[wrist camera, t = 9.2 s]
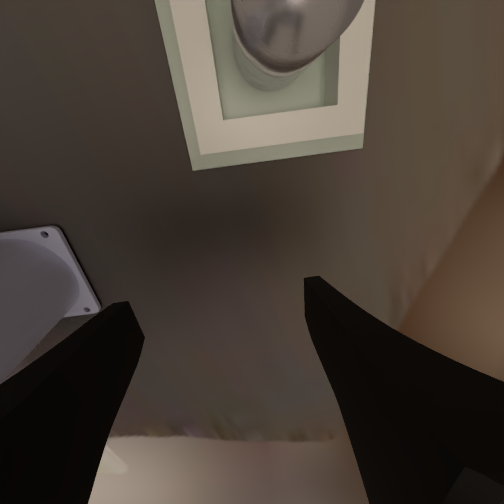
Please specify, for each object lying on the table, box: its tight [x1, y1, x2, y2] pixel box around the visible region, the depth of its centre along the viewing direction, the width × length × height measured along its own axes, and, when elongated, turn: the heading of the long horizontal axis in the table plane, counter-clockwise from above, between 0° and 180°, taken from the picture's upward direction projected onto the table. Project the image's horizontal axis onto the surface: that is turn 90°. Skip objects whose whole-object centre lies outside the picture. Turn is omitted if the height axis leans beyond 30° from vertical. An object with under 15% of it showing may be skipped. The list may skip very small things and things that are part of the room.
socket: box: [155, 0, 375, 171], centre depth 12 cm, size 11×11×3 cm
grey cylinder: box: [231, 0, 364, 92], centre depth 10 cm, size 4×4×7 cm
